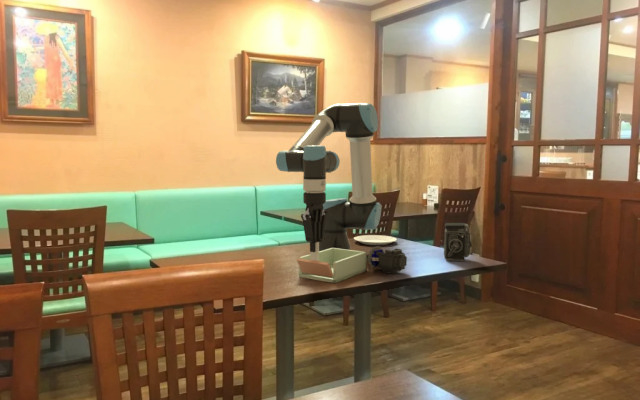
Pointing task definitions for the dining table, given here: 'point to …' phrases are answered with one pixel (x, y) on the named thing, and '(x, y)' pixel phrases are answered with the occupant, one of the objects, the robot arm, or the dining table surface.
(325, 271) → the panel
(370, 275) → the dining table surface
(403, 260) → the toy
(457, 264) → the dining table surface
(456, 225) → the camera
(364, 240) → the plate
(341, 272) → the tray
